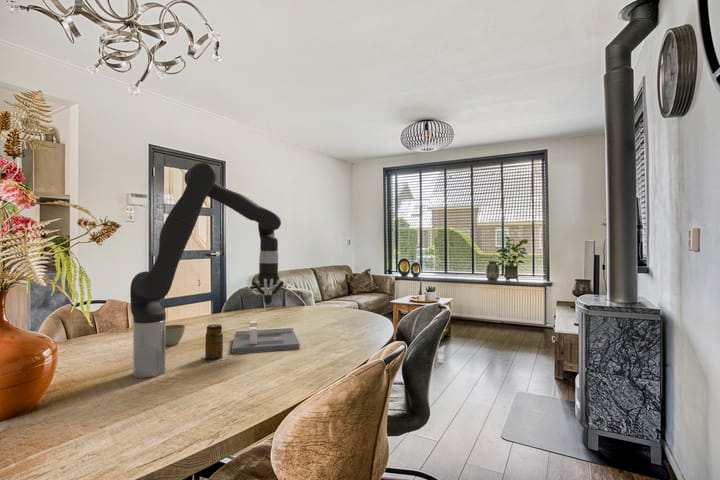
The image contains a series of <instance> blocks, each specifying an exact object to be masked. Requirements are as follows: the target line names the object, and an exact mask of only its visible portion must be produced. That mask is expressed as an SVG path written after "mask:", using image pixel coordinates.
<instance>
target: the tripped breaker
mask: <svg viewBox="0 0 720 480" xmlns="http://www.w3.org/2000/svg"><path fill="white" fill-rule="evenodd" d="M249 329H250V338H249V345H250V344H257V329H258V326H257V327H250V326H249Z"/></svg>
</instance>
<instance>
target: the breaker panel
mask: <svg viewBox="0 0 720 480" xmlns="http://www.w3.org/2000/svg"><path fill="white" fill-rule="evenodd" d="M233 336H234V337H233V339H232V340H233V342H232V347H231V354H233V355H235V354H247V353H260V352H272V351H287V350H300V346H301V345H300V342H299V340H298V337H297V334H296V333H295V331H294V327H293V326H285V327H269V328H268V327H267V328H257V344H250V345H249V338H250V328H249V329H247V328H246V329H235V334H234V335H233Z"/></svg>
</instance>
